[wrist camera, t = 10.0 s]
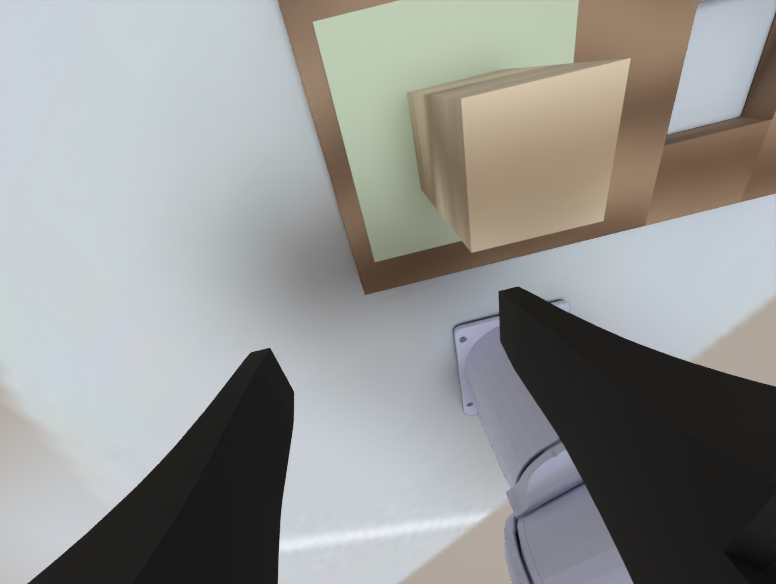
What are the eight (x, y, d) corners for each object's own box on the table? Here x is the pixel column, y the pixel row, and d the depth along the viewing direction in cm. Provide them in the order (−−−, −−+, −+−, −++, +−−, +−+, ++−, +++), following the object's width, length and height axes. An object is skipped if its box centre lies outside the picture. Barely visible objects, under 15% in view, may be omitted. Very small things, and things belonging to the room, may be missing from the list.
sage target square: (557, 214, 18) (560, 216, 17) (374, 259, 18) (374, 262, 17) (577, -43, 12) (582, -46, 12) (313, 22, 12) (312, 21, 12)
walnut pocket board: (783, 177, 20) (813, 184, 19) (363, 281, 20) (364, 294, 19) (950, -200, 12) (1020, -232, 11) (272, -32, 12) (264, -45, 11)
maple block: (503, 169, 16) (603, 221, 10) (421, 189, 16) (471, 252, 10) (502, 69, 13) (630, 57, 8) (406, 92, 13) (461, 98, 8)
